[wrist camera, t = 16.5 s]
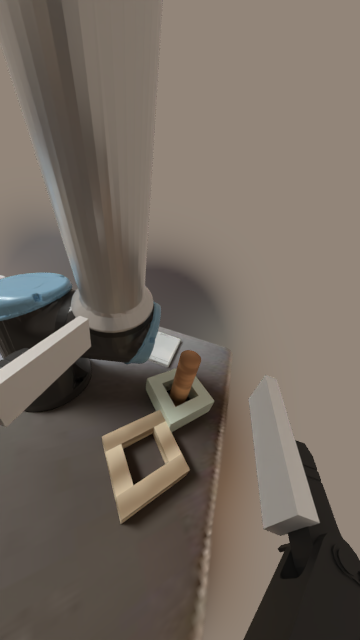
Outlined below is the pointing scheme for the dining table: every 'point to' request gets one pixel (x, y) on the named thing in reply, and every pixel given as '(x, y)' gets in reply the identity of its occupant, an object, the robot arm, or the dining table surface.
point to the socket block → (182, 413)
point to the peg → (184, 376)
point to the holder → (157, 482)
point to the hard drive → (164, 349)
